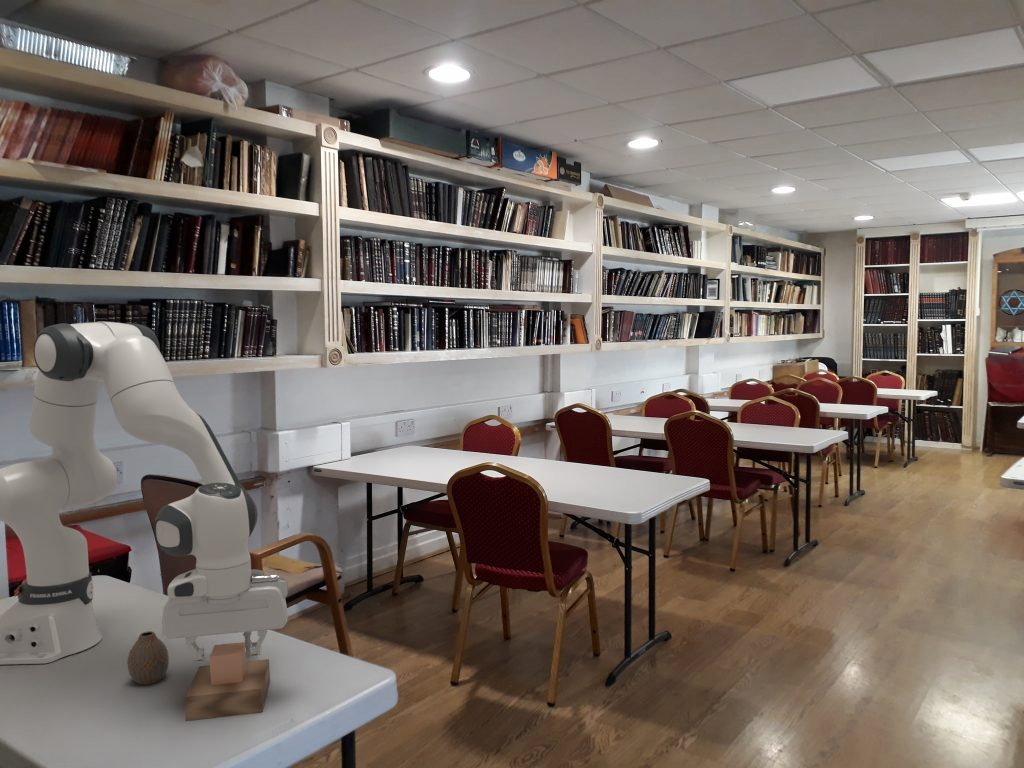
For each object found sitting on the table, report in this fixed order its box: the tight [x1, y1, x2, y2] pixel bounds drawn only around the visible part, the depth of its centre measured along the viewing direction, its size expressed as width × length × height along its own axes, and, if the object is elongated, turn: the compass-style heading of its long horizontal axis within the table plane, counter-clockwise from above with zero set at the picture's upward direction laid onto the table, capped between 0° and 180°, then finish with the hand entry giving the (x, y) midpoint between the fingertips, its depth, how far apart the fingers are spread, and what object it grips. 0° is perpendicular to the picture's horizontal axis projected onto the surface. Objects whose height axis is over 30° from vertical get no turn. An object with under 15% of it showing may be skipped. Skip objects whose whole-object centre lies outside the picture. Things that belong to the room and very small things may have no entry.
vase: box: [127, 630, 170, 686], centre depth 142 cm, size 7×7×9 cm
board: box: [184, 658, 271, 722], centre depth 134 cm, size 12×12×4 cm
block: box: [209, 641, 246, 685], centre depth 134 cm, size 5×5×5 cm
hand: (228, 656), depth 134 cm, fingers open, 8 cm apart
